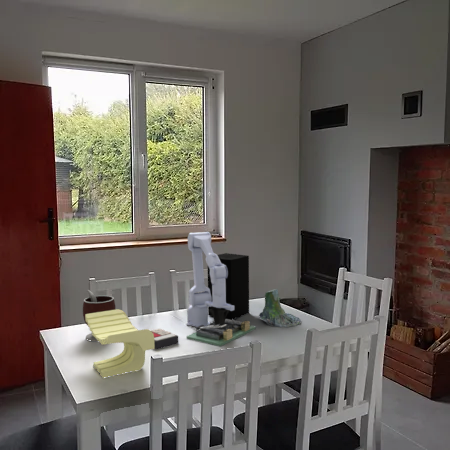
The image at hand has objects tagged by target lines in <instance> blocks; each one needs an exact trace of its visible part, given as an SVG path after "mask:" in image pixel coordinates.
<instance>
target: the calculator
mask: <svg viewBox="0 0 450 450" xmlns="http://www.w3.org/2000/svg"><path fill="white" fill-rule="evenodd" d="M150 331H151V332H152V333H153V335H154V346H155V349H154V350H160V349H164V348H168V347H172V346H175V345H179V335H177V334H176V333H172V332H170V331H168V330H164V329H162V328H156V329H151V330H150Z"/></svg>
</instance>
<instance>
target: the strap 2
mask: <svg viewBox="0 0 450 450" xmlns="http://www.w3.org/2000/svg"><path fill="white" fill-rule="evenodd" d="M225 322H227V323H232V324H238V325H241V323H242V322H243V321H242V320H241V321H240V320H236V319H233V320H230V319H225Z"/></svg>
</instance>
